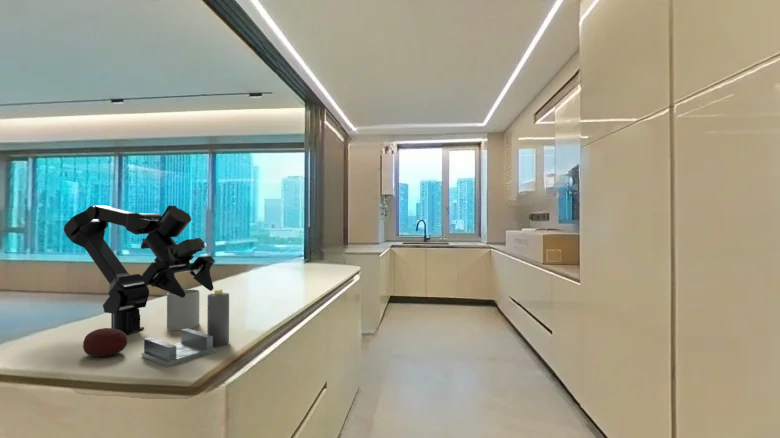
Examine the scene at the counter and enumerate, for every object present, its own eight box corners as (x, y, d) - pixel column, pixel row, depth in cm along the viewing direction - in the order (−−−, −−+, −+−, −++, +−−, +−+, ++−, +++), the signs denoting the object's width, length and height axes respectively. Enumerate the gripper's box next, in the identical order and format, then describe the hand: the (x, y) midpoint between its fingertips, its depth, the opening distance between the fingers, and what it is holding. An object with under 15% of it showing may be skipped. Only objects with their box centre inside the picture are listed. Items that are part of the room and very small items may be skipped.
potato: (102, 348, 92) (102, 323, 92) (137, 351, 90) (137, 325, 90) (71, 359, 84) (71, 332, 84) (108, 362, 82) (108, 335, 82)
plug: (181, 343, 95) (181, 289, 95) (196, 337, 100) (197, 286, 100) (219, 348, 92) (219, 292, 92) (233, 341, 96) (233, 288, 96)
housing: (141, 356, 86) (141, 339, 86) (189, 343, 95) (189, 327, 95) (166, 367, 80) (166, 348, 80) (214, 351, 89) (214, 335, 89)
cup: (184, 330, 106) (185, 295, 106) (160, 329, 108) (160, 294, 108) (205, 322, 114) (205, 290, 114) (181, 321, 116) (182, 289, 116)
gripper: (150, 229, 89) (186, 277, 86) (209, 227, 107) (241, 267, 104) (125, 260, 92) (160, 309, 88) (187, 254, 110) (218, 294, 106)
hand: (198, 293), depth 97 cm, fingers open, 9 cm apart
